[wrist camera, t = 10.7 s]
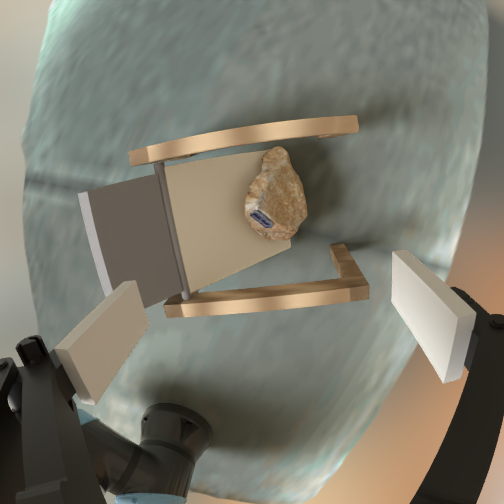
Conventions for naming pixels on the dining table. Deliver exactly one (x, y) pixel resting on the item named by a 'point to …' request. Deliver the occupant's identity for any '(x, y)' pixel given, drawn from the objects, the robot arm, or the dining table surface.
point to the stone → (276, 198)
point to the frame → (270, 297)
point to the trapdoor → (176, 227)
